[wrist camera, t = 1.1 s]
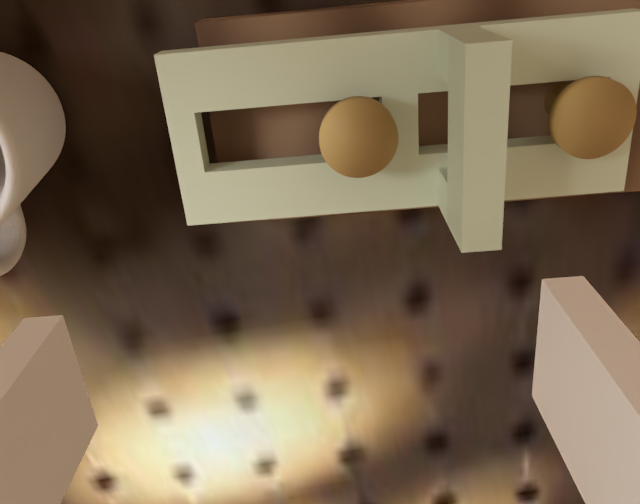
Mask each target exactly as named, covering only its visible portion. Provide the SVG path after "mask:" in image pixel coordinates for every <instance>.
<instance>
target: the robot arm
mask: <svg viewBox="0 0 640 504" xmlns="http://www.w3.org/2000/svg"><path fill="white" fill-rule="evenodd" d="M532 397H533V399H534V401H535V403H536V405H537V407H538V409H539V411H540V413H541V415H542V417H543V419H544V421H545V423H546V425H547V427H548V429H549V431H550V433H551V435H552V437H553V439H554V441H555V443H556V445H557V447H558V450H559V452H560V454H561V456H562V458H563V460H564V462H565V464H566V466H567V468H568V470H569V472H570V474H571V476H572V478H573V480H574V482H575V484H576V486H577V488H578V490H579V492H580V494H581V496H582V498H583V500H584V502H585V504H640V342H639V341H638V340H637V339H636V337H635V336H634V335H633V334H632V333H631V331H630V330H629V329H628V328H627V327H626V326H625V324H624V323H623V322H622V321H621V320H620V319H619V317H618V316H617V315H616V314H615V313H614V312H613V310H612V309H611V308H610V307H609V306H608V304H607V303H606V302H605V301H604V300H603V299H602V297H601V296H600V295H599V294H598V293H597V292H596V290H595V289H594V288H593V287H592V286H591V285H590V283H589V282H588V281H587V280H586V279H585V277H584V276H576V277H563V278H550V279H542V284H541V296H540V307H539V319H538V330H537V342H536V353H535V364H534V376H533V387H532ZM97 426H98V424H97V421H96V418H95V415H94V412H93V408H92V405H91V402H90V399H89V396H88V393H87V390H86V386H85V383H84V380H83V377H82V374H81V371H80V368H79V365H78V361H77V358H76V355H75V352H74V349H73V346H72V343H71V339H70V336H69V333H68V330H67V327H66V324H65V321H64V318H63V315H58V316H44V317H31V318H23V320H22V321H21V322H20V323H19V324H18V326H17V327H16V328H15V329H14V330H13V332H12V333H11V334H10V335H9V336H8V338H7V339H6V340H5V341H4V342H3V344H2V345H1V346H0V504H60V503H61V501H62V499H63V497H64V495H65V493H66V491H67V489H68V487H69V485H70V483H71V481H72V478H73V476H74V474H75V472H76V470H77V468H78V466H79V464H80V462H81V460H82V458H83V455H84V453H85V451H86V449H87V447H88V445H89V443H90V441H91V439H92V437H93V435H94V432H95V430H96V428H97Z"/></svg>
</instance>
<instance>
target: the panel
mask: <svg viewBox="0 0 640 504" xmlns="http://www.w3.org/2000/svg"><path fill="white" fill-rule="evenodd" d="M154 59H155V64H156V69H157V74H158V80H159V85H160V90H161V95H162V100H163V105H164V110H165V115H166V120H167V125H168V130H169V135H170V140H171V145H172V150H173V156H174V161H175V166H176V171H177V176H178V181H179V186H180V191H181V196H182V201H183V206H184V211H185V216H186V221H187V226H189V225H202V224H214V223H227V222H239V221H252V220H265V219H277V218H290V217H303V216H315V215H328V214H340V213H353V212H366V211H378V210H391V209H403V208H416V207H429V206H439V208H440V210H441V212H442V214H443V216H444V218H445V220H446V222H447V224H448V227H449V229H450V231H451V233H452V235H453V237H454V239H455V241H456V243H457V245H458V247H459V249H460V251H461V253H465V252H478V251H491V250H502V233H503V213H504V200H517V199H530V198H542V197H555V196H567V195H580V194H593V193H605V192H618V191H624V187H625V181H626V174H627V167H628V160H629V153H630V146H631V139H632V132H633V129H632V131H631V133H630V135H629V136H628V138H627V139H626V140H625V141H624V143H623V144H622V145H621V146H619V147H618V148H617V149H616V150H614V151H613V152H611V153H609V154H607V155H605V156H603V157H599V158H595V159H580V158H576V157H574V156H571V155H570V154H568V153H567V152H565V151H564V150H563V149H561V148H560V147H559V146H558V145H557V144H556V143H555V142H554V141H553V139H552V137H551V135H548V136H536V137H524V138H512V139H507V137H508V118H509V99H510V86H512V85H523V84H535V83H547V82H558V81H570V80H578V79H580V78H584V77H587V76H603V77H607V78H610V79H612V80H615V81H617V82H619V83H621V84H623V85H624V86H626V87H627V88H628V89H629V90H630V92H631V93H632V95H633V97H634V99H635V102H636V104H637V97H638V90H639V83H640V9H636V8H631V9H620V10H609V11H598V12H587V13H576V14H565V15H554V16H543V17H531V18H520V19H509V20H498V21H487V22H476V23H465V24H454V25H442V26H431V27H420V28H409V29H398V30H387V31H376V32H365V33H354V34H342V35H331V36H320V37H309V38H298V39H287V40H276V41H265V42H254V43H242V44H231V45H220V46H209V47H198V48H187V49H176V50H165V51H160V52H158V53H156V54H155V55H154ZM442 91H448V144H440V145H428V146H419V136H418V94H419V93H430V92H442ZM353 96H364V97H369V98H372V97H379V102H380V103H381V104H383V105H384V106H385V107H386V108H387V109H388V110H389V112H390V113H391V115H392V117H393V119H394V121H395V123H396V126H397V129H398V147H397V150H396V153H395V155H394V157H393V158H392V160H391V161H390V163H389V164H388V165H387V166H386V167H385V168H384V169H382V170H381V171H380V172H378V173H376V174H374V175H371V176H368V177H363V178H352V177H347V176H344V175H341V174H340V173H338V172H336V171H335V170H333V169H332V168H331V167H330V166H329V165H328V164H327V163H326V161H325V159H324V158H323V156H322V154H319V155H307V156H295V157H283V158H271V159H259V160H247V161H235V162H223V163H211V164H210V163H209V157H208V151H207V145H206V139H205V133H204V128H203V122H202V116H201V112H210V111H221V110H233V109H245V108H256V107H268V106H279V105H291V104H303V103H314V102H326V101H338V100H343V99H345V98H348V97H353Z"/></svg>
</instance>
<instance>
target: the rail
mask: <svg viewBox="0 0 640 504" xmlns="http://www.w3.org/2000/svg"><path fill="white" fill-rule="evenodd" d="M631 8H636V9H640V0H403V1H392V2H381V3H370V4H359V5H348V6H337V7H326V8H316V9H305V10H294V11H283V12H272V13H261V14H250V15H239V16H228V17H217V18H207V19H201V20H199V21H196V22H194V24H195V30H196V36H197V42H198V47H209V46H220V45H231V44H242V43H254V42H265V41H276V40H287V39H298V38H309V37H320V36H331V35H342V34H354V33H365V32H376V31H387V30H398V29H409V28H420V27H431V26H442V25H454V24H465V23H476V22H487V21H498V20H509V19H520V18H531V17H543V16H554V15H565V14H576V13H587V12H598V11H609V10H620V9H631ZM209 115H210V121H211V127H212V133H213V139H214V145H215V151H216V157H217V163H223V162H235V161H247V160H259V159H271V158H283V157H295V156H307V155H319V154H322V156H323V158H324V159H325V161H326V163H327V164H328V165H329V166H330V167H331V168H332V169H333V170H335V171H336V172H338V173H340V174H341V175H344V176H347V177H352V178H363V177H368V176H371V175H374V174H376V173H378V172H380V171H381V170H382V169H384V168H385V167H386V166H387V165H388V164H389V163H390V161H391V160H392V158H393V157H394V155H395V153H396V150H397V147H398V129H397V126H396V123H395V121H394V119H393V117H392V115H391V113H390V112H389V110H388V109H387V108H386V107H385V106H384V105H383V104H381V103H380V102H379V97H372V98H369V97H364V96H353V97H348V98H345V99H343V100H338V101H326V102H314V103H303V104H291V105H279V106H268V107H256V108H245V109H233V110H221V111H210V112H209ZM632 129H633V132H632V139H631V146H630V153H629V160H628V167H627V174H626V181H625V187H624V191H618V192H605V193H593V194H580V195H567V196H555V197H542V198H530V199H517V200H504V202H507V201H519V200H532V199H545V198H557V197H570V196H583V195H595V194H608V193H621V192H633V191H640V83H639V90H638V97H637V104H636V102H635V99H634V97H633V95H632V93H631V92H630V90H629V89H628V88H627V87H626V86H624V85H623V84H621V83H619V82H617V81H615V80H612V79H610V78H607V77H603V76H587V77H584V78H580V79H578V80H570V81H558V82H547V83H535V84H523V85H512V86H510V99H509V118H508V137H507V139H512V138H524V137H536V136H548V135H551V137H552V139H553V141H554V142H555V143H556V144H557V145H558V146H559V147H560V148H561V149H563V150H564V151H565V152H567V153H568V154H570V155H571V156H574V157H576V158H580V159H595V158H599V157H603V156H605V155H607V154H609V153H611V152H613V151H614V150H616V149H617V148H618V147H619V146H621V145H622V144H623V143H624V141H625V140H626V139H627V138H628V136H629V135H630V133H631V131H632ZM418 136H419V146H428V145H440V144H448V91H442V92H430V93H419V94H418ZM431 207H439V206H429V207H416V208H403V209H391V210H378V211H366V212H353V213H340V214H328V215H315V216H303V217H290V218H277V219H265V220H252V221H239V222H227V224H229V223H242V222H254V221H267V220H280V219H292V218H305V217H317V216H330V215H343V214H355V213H368V212H381V211H393V210H406V209H418V208H431Z"/></svg>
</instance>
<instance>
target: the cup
mask: <svg viewBox="0 0 640 504" xmlns="http://www.w3.org/2000/svg"><path fill="white" fill-rule="evenodd" d="M65 133H66V123H65V116H64V112H63V108H62V105H61V103H60V100H59V98H58V96H57V94H56V93H55V91H54V89H53V88H52V87H51V85H50V84H49V83H48V81H47V80H46V79H45V78H44V77H43V76H42V75H41V74H40V73H39V72H38V71H37V70H36V69H34V68H33V67H32V66H30V65H29V64H27V63H26V62H24V61H22V60H20V59H18V58H16V57H14V56H12V55H9V54H6V53H3V52H0V276H1V275H3V274H5V273H7V272H8V271H10V270H11V269H12V268H13V267H14V266H15V265H16V263H17V262H18V260H19V259H20V257H21V255H22V253H23V250H24V247H25V243H26V224H25V219H24V215H23V212H22V208H21V205H20V204H21V202H22V201H23V200H24V199H25V198H26V197H27V195H28V194H29V193H30V192H31V191H32V190H33V188H34V187H35V186H36V185H37V184H38V183H39V181H40V180H41V179H42V178H43V177H44V176H45V174H46V173H47V172H48V171H49V170H50V168H51V167H52V166H53V165H54V163H55V162H56V160H57V158H58V157H59V155H60V152H61V150H62V147H63V144H64V140H65Z"/></svg>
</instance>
